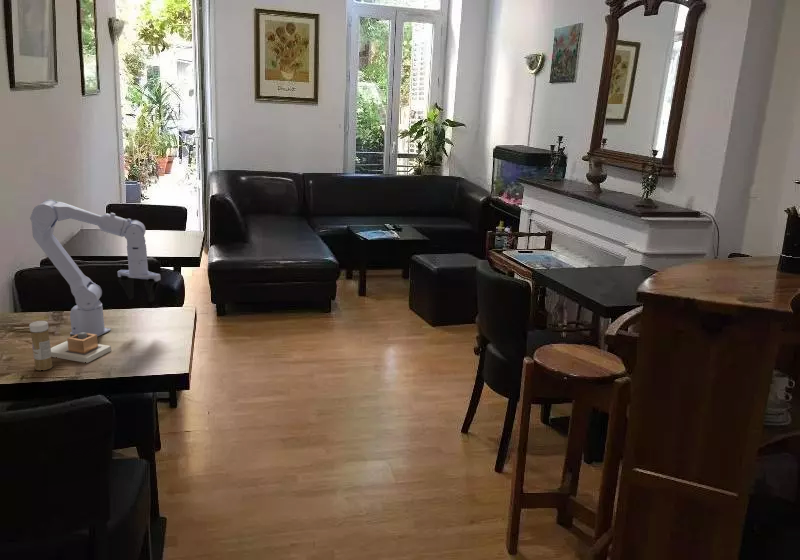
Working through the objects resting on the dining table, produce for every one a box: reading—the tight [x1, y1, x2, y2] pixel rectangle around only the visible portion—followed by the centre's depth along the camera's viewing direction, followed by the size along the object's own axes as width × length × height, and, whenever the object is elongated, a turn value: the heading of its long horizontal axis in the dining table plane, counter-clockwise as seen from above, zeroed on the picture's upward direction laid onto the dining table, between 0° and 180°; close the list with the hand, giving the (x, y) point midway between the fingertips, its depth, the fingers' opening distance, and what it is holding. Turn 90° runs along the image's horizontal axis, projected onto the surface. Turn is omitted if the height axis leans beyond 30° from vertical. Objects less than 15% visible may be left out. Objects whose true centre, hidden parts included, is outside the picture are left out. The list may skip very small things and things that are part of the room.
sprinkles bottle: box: [28, 320, 54, 371], centre depth 183 cm, size 5×5×13 cm
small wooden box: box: [66, 333, 99, 354], centre depth 194 cm, size 6×6×4 cm
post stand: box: [50, 332, 112, 364], centre depth 195 cm, size 15×10×6 cm, turn 73°
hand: (141, 299), depth 213 cm, fingers open, 7 cm apart
